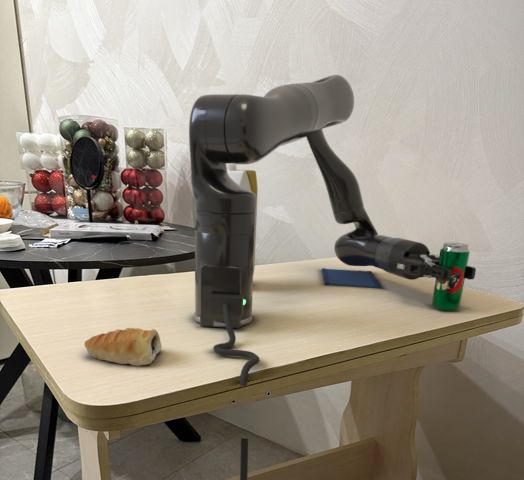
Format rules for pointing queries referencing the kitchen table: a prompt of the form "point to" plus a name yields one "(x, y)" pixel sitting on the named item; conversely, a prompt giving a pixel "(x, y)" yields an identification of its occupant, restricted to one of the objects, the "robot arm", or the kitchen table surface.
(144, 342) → the pastry
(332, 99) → the robot arm
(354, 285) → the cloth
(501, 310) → the kitchen table surface
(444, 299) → the soda can
